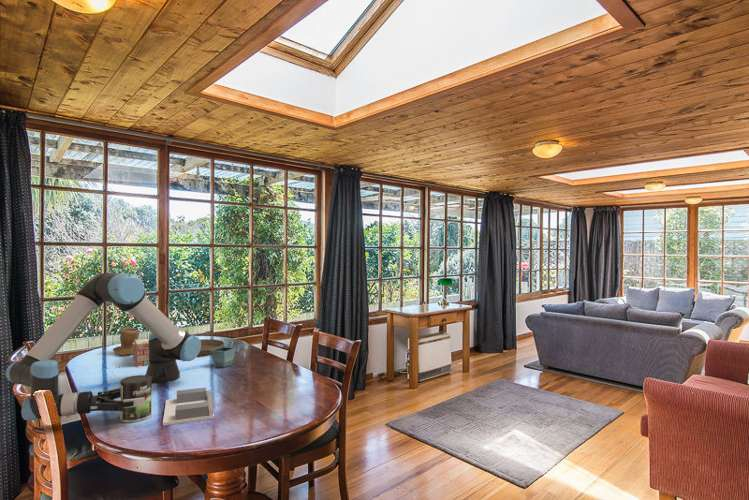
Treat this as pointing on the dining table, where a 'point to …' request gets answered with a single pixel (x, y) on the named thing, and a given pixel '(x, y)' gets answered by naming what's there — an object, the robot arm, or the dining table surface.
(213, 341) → the plant saucer
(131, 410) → the coffee can
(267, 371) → the dining table surface
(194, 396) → the block
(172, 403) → the mounting board
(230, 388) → the dining table surface
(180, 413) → the block
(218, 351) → the flower pot
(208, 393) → the metal rail
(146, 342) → the tan printed box
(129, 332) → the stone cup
